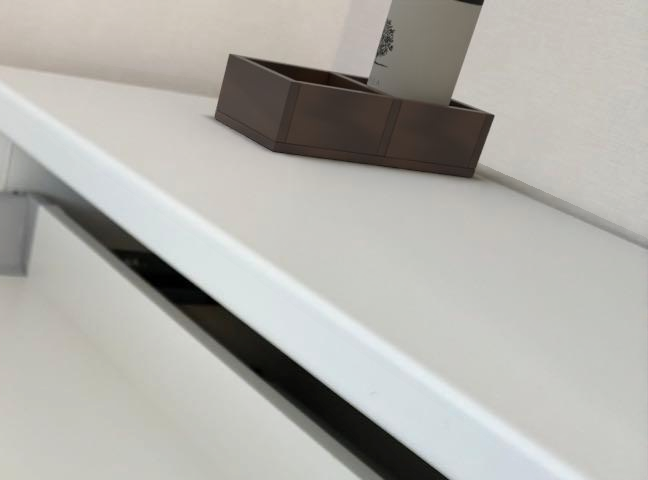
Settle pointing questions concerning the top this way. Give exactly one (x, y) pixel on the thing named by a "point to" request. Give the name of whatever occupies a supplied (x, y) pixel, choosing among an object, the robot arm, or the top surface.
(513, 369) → the top surface
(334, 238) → the top surface
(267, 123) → the divided wooden tray
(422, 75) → the travel mug
